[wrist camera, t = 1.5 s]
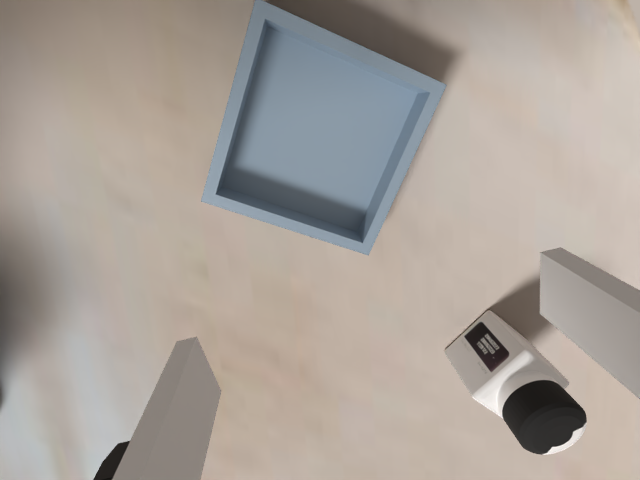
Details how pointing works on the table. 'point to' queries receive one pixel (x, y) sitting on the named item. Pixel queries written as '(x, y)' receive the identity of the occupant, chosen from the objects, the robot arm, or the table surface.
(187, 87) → the table surface
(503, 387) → the container
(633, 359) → the robot arm
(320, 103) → the bin
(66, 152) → the table surface
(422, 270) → the table surface
